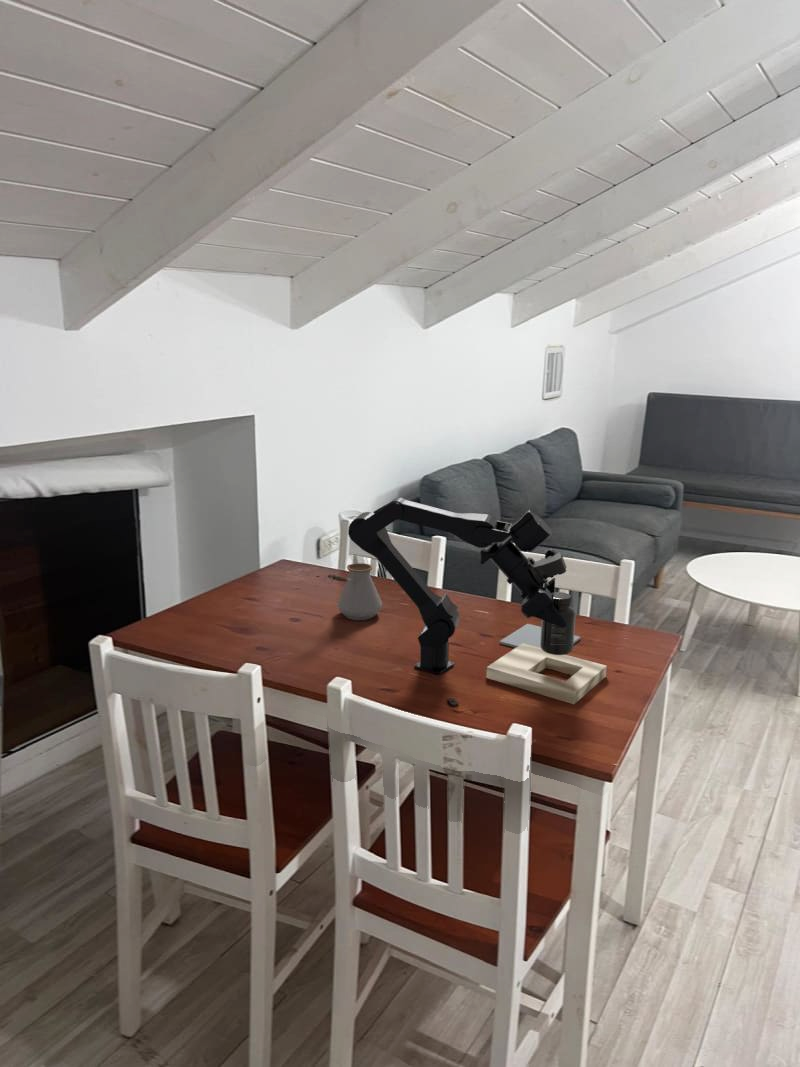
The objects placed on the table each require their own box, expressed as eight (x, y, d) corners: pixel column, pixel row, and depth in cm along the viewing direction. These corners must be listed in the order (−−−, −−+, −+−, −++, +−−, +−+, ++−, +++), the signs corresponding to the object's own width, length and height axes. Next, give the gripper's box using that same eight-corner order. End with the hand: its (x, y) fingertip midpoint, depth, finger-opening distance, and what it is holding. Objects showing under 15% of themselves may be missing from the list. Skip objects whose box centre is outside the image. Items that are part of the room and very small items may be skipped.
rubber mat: (554, 658, 181) (554, 655, 181) (499, 643, 189) (499, 641, 189) (580, 639, 192) (580, 636, 192) (527, 625, 200) (527, 623, 200)
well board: (574, 704, 160) (574, 692, 159) (486, 677, 171) (486, 666, 170) (605, 676, 172) (606, 665, 171) (522, 653, 183) (522, 643, 183)
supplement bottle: (579, 649, 169) (583, 595, 166) (561, 659, 164) (566, 603, 161) (550, 640, 174) (554, 587, 170) (533, 649, 169) (536, 595, 166)
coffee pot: (351, 604, 214) (351, 550, 210) (390, 611, 209) (390, 555, 205) (307, 631, 195) (306, 572, 192) (349, 639, 191) (348, 579, 187)
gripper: (542, 553, 155) (596, 612, 156) (546, 529, 172) (595, 582, 173) (499, 588, 159) (552, 646, 159) (507, 561, 176) (555, 613, 177)
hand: (565, 620), depth 167 cm, fingers closed on supplement bottle, 7 cm apart
